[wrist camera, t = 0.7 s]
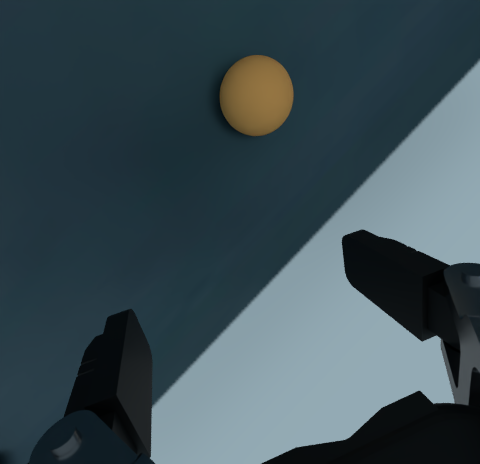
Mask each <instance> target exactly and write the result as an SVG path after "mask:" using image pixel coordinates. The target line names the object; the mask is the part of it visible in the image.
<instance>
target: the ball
mask: <svg viewBox="0 0 480 464" xmlns="http://www.w3.org/2000/svg"><path fill="white" fill-rule="evenodd" d="M292 103H293V86H292V82H291V79H290V77H289V75H288V73H287V71H286V70H285V69H284V67H283V66H282V65H281V64H280V63H278V62H277V61H276V60H274V59H272V58H270V57H267V56H262V55H252V56H248V57H245V58H243V59H241V60H239V61H237V62H236V63H235V64H234V65H233V66H232V67H231V68H230V69H229V70H228V71H227V73H226V75H225V76H224V79H223V81H222V84H221V88H220V105H221V109H222V112H223V114H224V116H225V118H226V120H227V121H228V122H229V124H230V125H231V126H232V127H233V128H234V129H236V130H237V131H239V132H241V133H243V134H246V135H250V136H262V135H266V134H269V133H271V132H273V131H274V130H276V129H277V128H279V127H280V126H281V125H282V124H283V122H284V121H285V120H286V118H287V117H288V115H289V113H290V110H291V107H292Z"/></svg>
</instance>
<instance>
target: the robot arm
mask: <svg viewBox="0 0 480 464" xmlns="http://www.w3.org/2000/svg"><path fill="white" fill-rule="evenodd" d="M342 248H343V257H344V267H345V273H346V277H347V279H348V280H349V282H350V284H351V285H352V286H353V287H354V288H356V289H357V290H358V291H359V292H360V293H362V294H363V295H364V296H365V297H367V298H368V299H369V300H370V301H372V302H373V303H374V304H375V305H377V306H378V307H379V308H381V309H382V310H383V311H384V312H385V313H387V314H388V315H389V316H391V317H392V318H393V319H394V320H396V321H397V322H398V323H399V324H401V325H402V326H403V327H404V328H406V329H407V330H408V331H409V332H411V333H412V334H413V335H414V336H416V337H417V338H418V339H419V340H421V341H424V340H427V339H429V338H431V337H434V336H436V335H437V336H438V337H440V338H441V350H442V354H443V358H444V362H445V365H446V369H447V373H448V377H449V381H450V384H451V389H452V392H453V396H454V401H455V404H453V403H436V404H433V403H432V402H431V401H430V400H429V399H428V398H427V397H426V396H425V395H424V394H423V393H422V392H421V391H417V392H415V393H413V394H411V395H409V396H407V397H404V398H402V399H400V400H398V401H396V402H394V403H392V404H389V405H387V406H385V407H383V408H381V409H380V410H379V411H378V412H377V413H376V414H375V415H374V416H373V417H371V418H370V419H369V421H367V422H366V423H365V424H364V425H363V426H362V427H361V428H360V429H359V430H358V431H356V432H355V433H354V434H353V435H352V436H351V437H350V438H348V439H346V440H343V441H335V442H329V443H322V444H316V445H309V446H303V447H297V448H294V449H292V450H290V451H288V452H285V453H283V454H281V455H279V456H277V457H275V458H273V459H270V460H268V461H266V462H264V463H262V464H480V264H477V263H459V264H454V265H451V266H450V265H448V264H446V263H443V262H441V261H439V260H437V259H435V258H433V257H430V256H428V255H426V254H424V253H422V252H419V251H416V250H415V249H413V248H411V247H407V246H406V245H404V244H402V243H400V242H398V241H395V240H392V239H387V238H383V237H378V236H376V235H374V234H372V233H370V232H368V231H365V230H359V231H356V232H353V233H350V234H347V235H345V236H343V238H342ZM151 412H152V355H151V350H150V347H149V344H148V342H147V339H146V337H145V335H144V333H143V330H142V328H141V326H140V324H139V322H138V319H137V317H136V315H135V313H134V311H133V310H132V309H128V310H126V311H123V312H120V313H117V314H114V315H111V316H109V317H108V318H107V321H106V325H105V329H104V333H103V334H102V335H99V336H96V337H95V338H94V339H93V341H92V342H91V343H90V344H89V346H88V347H87V348H86V350H85V352H84V355H83V358H82V362H81V366H80V368H79V371H78V377H76V380H75V383H74V386H73V389H72V393H71V396H70V399H69V402H68V405H67V408H66V411H65V414H64V417H63V418H62V419H60V420H59V421H58V422H56V423H55V424H54V425H53V426H52V427H50V428H49V429H48V430H47V431H46V432H45V434H44V435H43V436H42V437H41V438H40V440H39V441H38V443H37V444H36V446H35V447H34V449H33V451H32V454H31V457H30V461H29V463H28V464H155V463H154V462H153V461H152V460H151V459H150V457H151Z"/></svg>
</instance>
